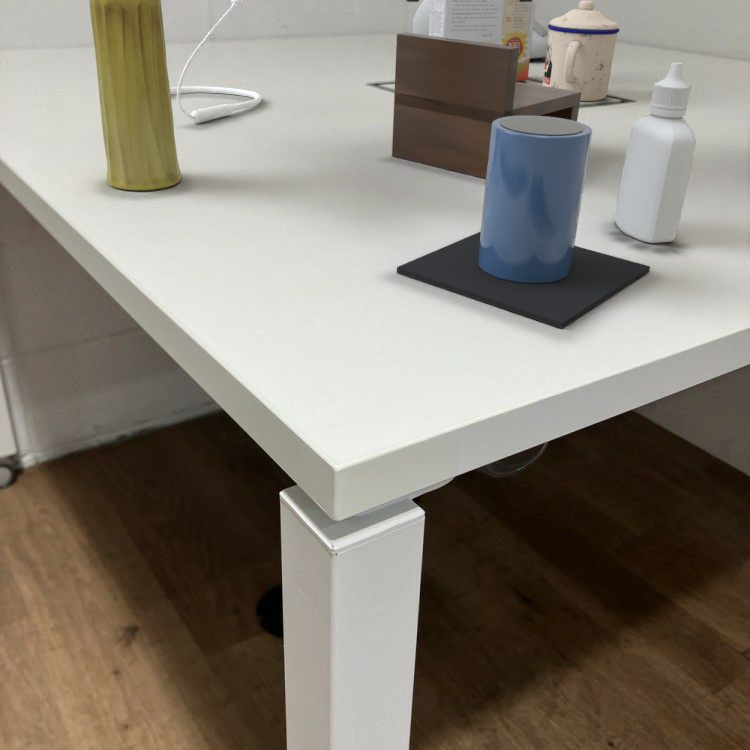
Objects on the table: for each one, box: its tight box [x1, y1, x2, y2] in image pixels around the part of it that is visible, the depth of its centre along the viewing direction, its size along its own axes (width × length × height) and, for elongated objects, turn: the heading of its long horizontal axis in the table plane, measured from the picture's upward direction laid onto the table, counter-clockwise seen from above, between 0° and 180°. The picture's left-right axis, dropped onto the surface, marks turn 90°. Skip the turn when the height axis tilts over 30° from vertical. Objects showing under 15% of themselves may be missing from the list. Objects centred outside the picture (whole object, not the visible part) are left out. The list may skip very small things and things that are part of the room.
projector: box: [412, 0, 549, 59], centre depth 138 cm, size 22×23×15 cm
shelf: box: [391, 32, 581, 180], centre depth 78 cm, size 14×12×11 cm
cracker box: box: [429, 0, 537, 82], centre depth 113 cm, size 14×6×21 cm, turn 110°
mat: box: [396, 231, 651, 329], centre depth 54 cm, size 12×12×1 cm
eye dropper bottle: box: [614, 62, 697, 244], centre depth 59 cm, size 4×6×12 cm
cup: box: [478, 116, 593, 283], centre depth 51 cm, size 6×6×9 cm
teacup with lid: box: [541, 0, 620, 102], centre depth 106 cm, size 12×9×12 cm
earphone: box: [169, 0, 263, 124], centre depth 94 cm, size 14×17×18 cm
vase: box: [89, 0, 182, 192], centre depth 65 cm, size 6×6×14 cm
